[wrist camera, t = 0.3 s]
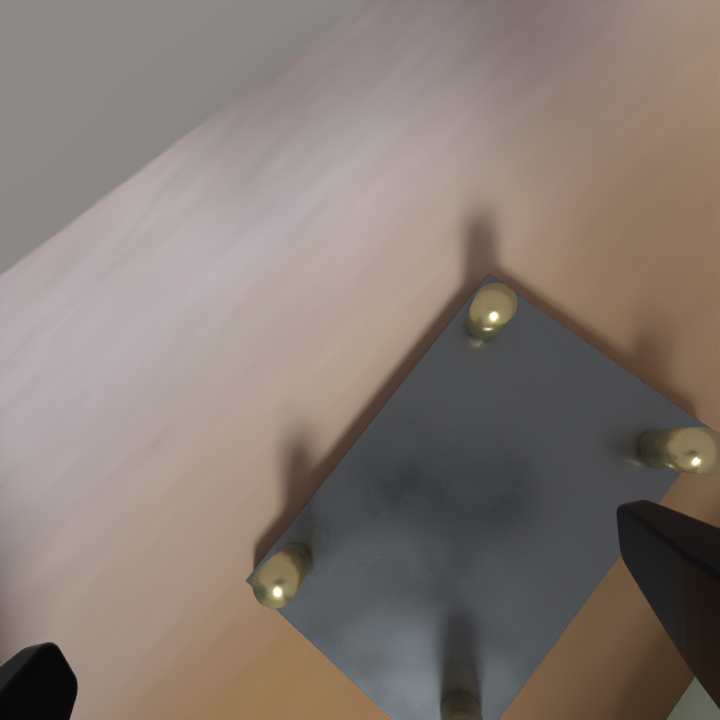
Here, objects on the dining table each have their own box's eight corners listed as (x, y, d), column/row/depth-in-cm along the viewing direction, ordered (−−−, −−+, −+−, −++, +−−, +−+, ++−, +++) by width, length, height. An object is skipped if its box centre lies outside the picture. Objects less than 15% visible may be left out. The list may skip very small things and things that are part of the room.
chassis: (697, 429, 20) (766, 428, 16) (452, 760, 19) (463, 844, 15) (485, 280, 22) (500, 247, 18) (253, 573, 21) (217, 605, 17)
